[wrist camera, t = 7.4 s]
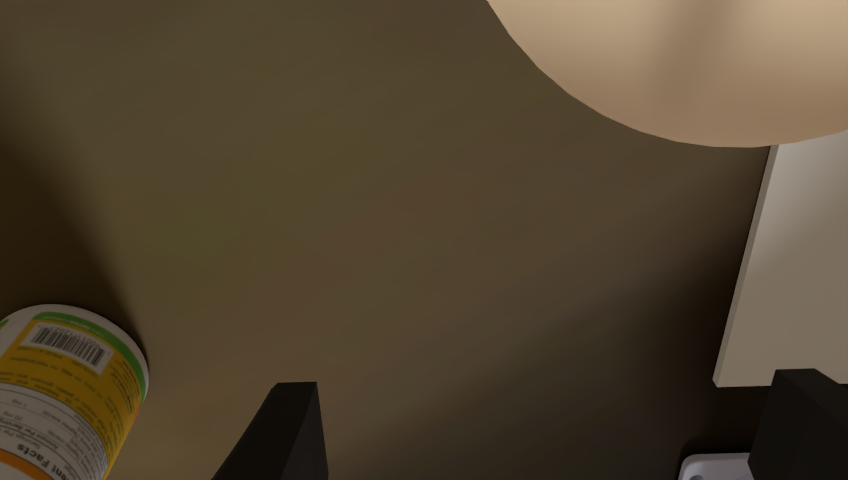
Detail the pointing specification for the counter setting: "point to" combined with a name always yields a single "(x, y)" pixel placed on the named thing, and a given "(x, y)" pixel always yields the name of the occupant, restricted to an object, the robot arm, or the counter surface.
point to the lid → (696, 64)
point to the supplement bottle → (66, 393)
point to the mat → (793, 270)
